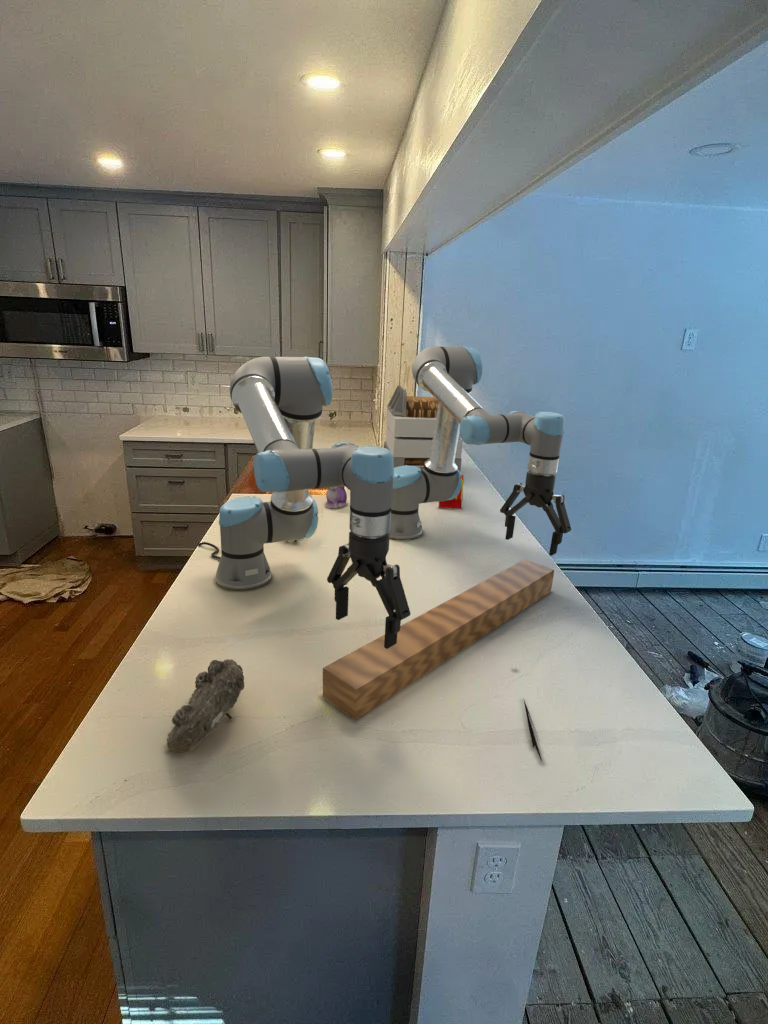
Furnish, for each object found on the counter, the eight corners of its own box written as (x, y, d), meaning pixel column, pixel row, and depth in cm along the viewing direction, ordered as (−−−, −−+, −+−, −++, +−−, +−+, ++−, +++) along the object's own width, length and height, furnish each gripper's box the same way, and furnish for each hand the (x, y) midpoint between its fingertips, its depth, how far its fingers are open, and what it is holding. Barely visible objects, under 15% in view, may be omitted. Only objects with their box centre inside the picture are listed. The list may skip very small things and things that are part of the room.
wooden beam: (521, 580, 169) (524, 559, 167) (551, 591, 163) (554, 569, 161) (322, 697, 115) (322, 667, 113) (355, 720, 109) (356, 689, 107)
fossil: (192, 660, 117) (244, 628, 112) (224, 691, 120) (276, 661, 115) (142, 746, 98) (202, 712, 93) (182, 779, 101) (242, 748, 96)
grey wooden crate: (382, 463, 289) (386, 382, 275) (445, 464, 293) (451, 384, 279) (390, 482, 257) (394, 392, 243) (460, 483, 261) (468, 394, 247)
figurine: (329, 510, 219) (330, 473, 214) (320, 502, 228) (320, 466, 222) (352, 507, 223) (353, 470, 218) (341, 499, 232) (342, 464, 227)
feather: (515, 674, 127) (521, 668, 126) (541, 765, 100) (548, 758, 100) (509, 670, 127) (514, 664, 126) (533, 761, 100) (540, 753, 99)
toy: (456, 466, 252) (467, 476, 223) (454, 496, 255) (465, 509, 225) (428, 465, 252) (437, 475, 222) (427, 495, 254) (435, 508, 225)
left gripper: (310, 517, 110) (309, 612, 117) (406, 559, 94) (399, 667, 101) (338, 508, 115) (336, 600, 122) (435, 547, 99) (426, 650, 107)
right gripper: (493, 463, 154) (484, 535, 162) (580, 486, 138) (565, 565, 146) (508, 459, 159) (499, 529, 167) (593, 481, 144) (578, 556, 151)
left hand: (365, 630), depth 112 cm, fingers open, 13 cm apart
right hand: (530, 546), depth 156 cm, fingers open, 13 cm apart
